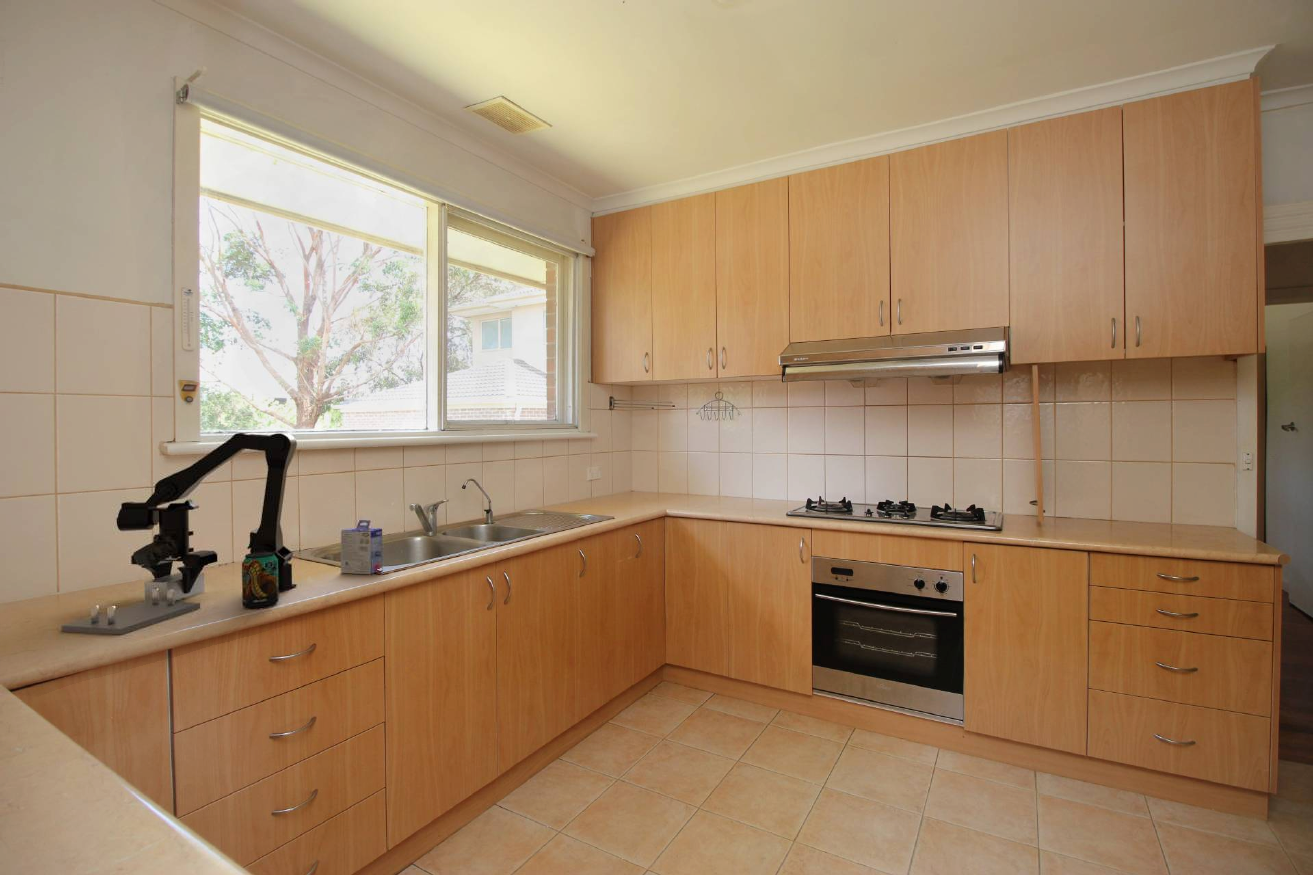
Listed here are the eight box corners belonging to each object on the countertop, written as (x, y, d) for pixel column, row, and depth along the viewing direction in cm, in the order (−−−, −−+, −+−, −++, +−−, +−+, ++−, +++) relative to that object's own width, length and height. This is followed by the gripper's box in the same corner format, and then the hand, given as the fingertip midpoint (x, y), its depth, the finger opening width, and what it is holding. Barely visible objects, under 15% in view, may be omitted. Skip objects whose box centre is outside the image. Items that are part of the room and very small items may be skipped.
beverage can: (240, 611, 139) (239, 558, 138) (244, 603, 145) (243, 552, 144) (277, 607, 142) (276, 555, 141) (279, 599, 148) (278, 549, 148)
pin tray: (200, 608, 141) (199, 587, 141) (120, 634, 123) (119, 611, 123) (147, 605, 143) (147, 585, 143) (61, 631, 126) (60, 608, 126)
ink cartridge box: (384, 570, 177) (383, 520, 177) (371, 575, 172) (370, 523, 171) (353, 568, 179) (352, 519, 179) (340, 573, 174) (339, 522, 173)
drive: (204, 592, 155) (204, 572, 155) (166, 603, 145) (166, 582, 145) (183, 591, 156) (183, 571, 156) (144, 602, 146) (144, 581, 146)
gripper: (107, 533, 143) (108, 600, 144) (176, 535, 140) (178, 604, 141) (153, 525, 154) (154, 587, 155) (218, 527, 151) (219, 591, 152)
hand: (175, 592), depth 150 cm, fingers closed on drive, 6 cm apart
